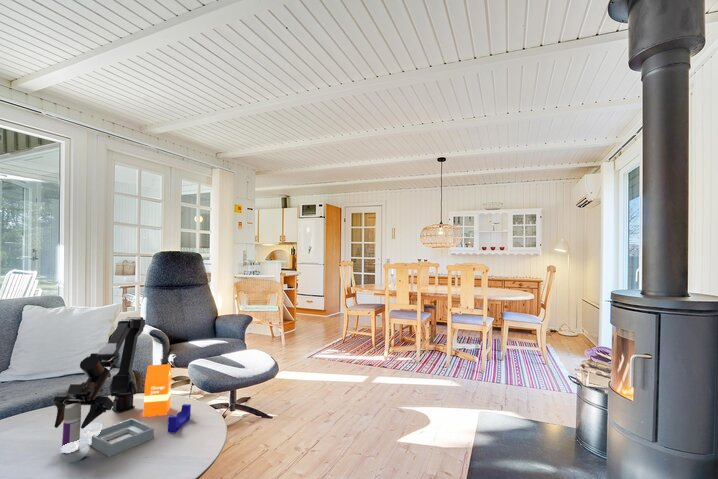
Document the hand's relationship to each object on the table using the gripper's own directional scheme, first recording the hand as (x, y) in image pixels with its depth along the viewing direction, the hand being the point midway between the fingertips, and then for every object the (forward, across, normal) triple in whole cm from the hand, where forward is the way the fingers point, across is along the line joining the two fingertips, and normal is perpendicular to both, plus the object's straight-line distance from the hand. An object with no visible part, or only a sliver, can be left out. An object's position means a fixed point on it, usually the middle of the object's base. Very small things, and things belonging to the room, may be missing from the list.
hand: (68, 427), depth 122 cm
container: (+5, 0, +7) cm, 9 cm away
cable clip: (-9, +27, +21) cm, 35 cm away
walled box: (0, +13, +12) cm, 17 cm away
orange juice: (-17, +12, +29) cm, 36 cm away
